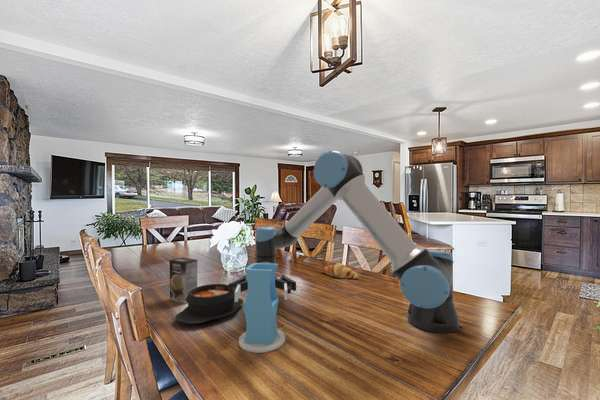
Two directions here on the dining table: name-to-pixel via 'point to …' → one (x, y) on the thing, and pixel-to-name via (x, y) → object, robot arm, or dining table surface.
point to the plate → (260, 347)
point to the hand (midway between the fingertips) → (261, 296)
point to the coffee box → (182, 278)
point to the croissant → (340, 271)
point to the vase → (261, 304)
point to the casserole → (208, 304)
